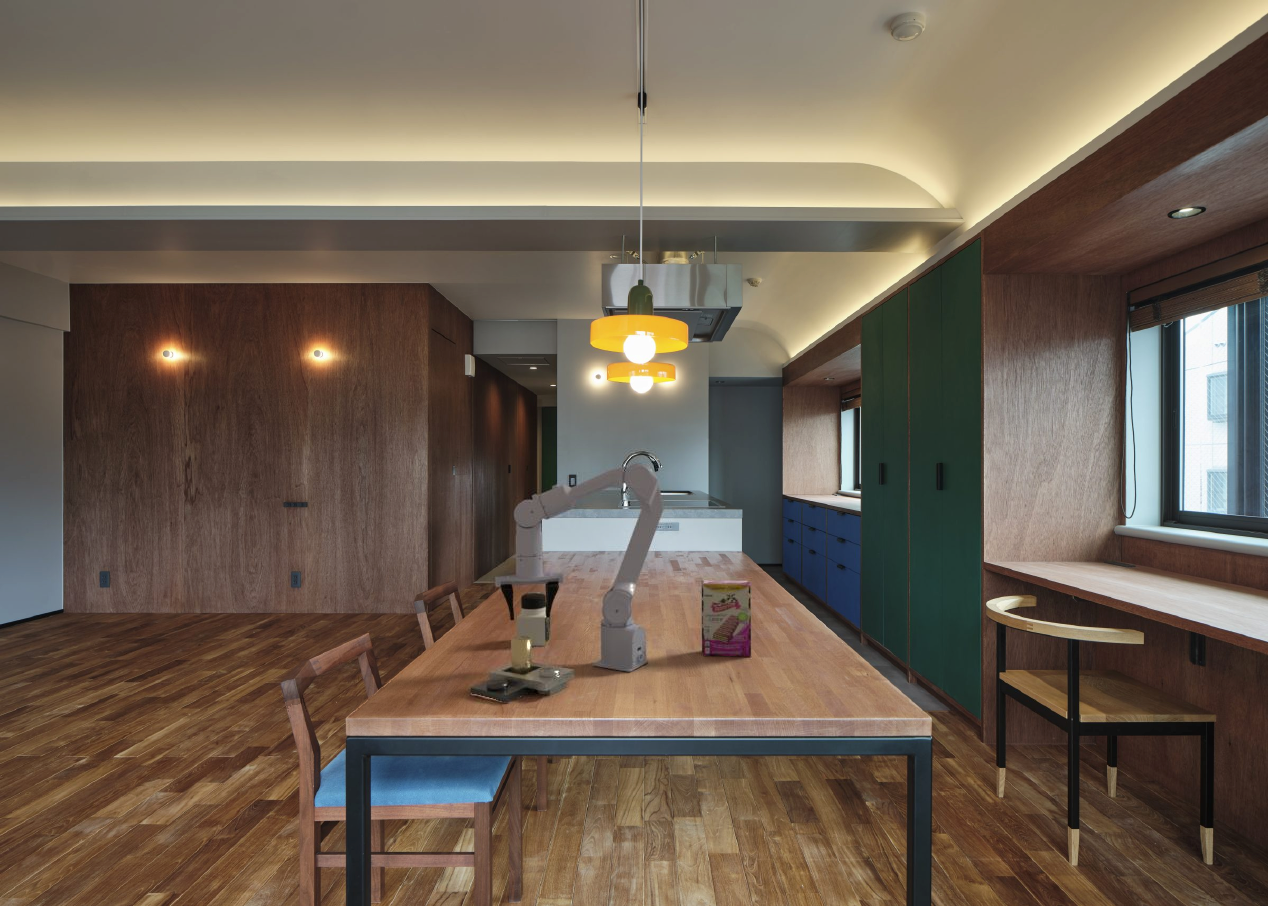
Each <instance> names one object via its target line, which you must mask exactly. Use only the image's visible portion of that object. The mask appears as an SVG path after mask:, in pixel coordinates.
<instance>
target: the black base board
mask: <svg viewBox="0 0 1268 906" xmlns="http://www.w3.org/2000/svg"><path fill="white" fill-rule="evenodd" d="M534 691H536V690H535V689H532V688H527V687H522V686H517V685H512V684H508V681H507V680H489V679H488V680H485V681H483V682H480V683H479V684H478V683H477V684H476V685H473V686H471V687H470V694H471V693H472V694H477V695H481V696H485V697H489V698H493V699H496V700H498V701H502V702H506V703H505V704H509V703H511V702H513V701H514V700H513V699H515V700H517V699H519V698H518V697H520V696H522V697H524V696H525V694H526V695H528V694H530V693H533V692H534ZM527 693H528V694H527ZM523 695H524V696H523ZM516 698H517V699H516ZM520 698H521V697H520ZM512 700H513V701H512ZM498 701H497V702H498ZM510 701H511V702H510ZM502 702H501V703H502ZM508 702H509V703H508Z"/></svg>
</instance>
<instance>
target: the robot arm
mask: <svg viewBox="0 0 1268 906" xmlns="http://www.w3.org/2000/svg"><path fill="white" fill-rule="evenodd" d="M624 484H625V486H626V487H627V488H628V489H629V491H631V493H633V494H634V496H635V498H636V501H637V502H638V504H639V506H640V512H639V515H638V517H637V520H636V523H635V526H634V528H633V530H632V534H631V537H630V540H629V542H628V544H627V548H626V550H625V553H624V556H623V558H622V561H621V563H620V566H619V568H618V572H617V574H616V577H615V578H614V580H613V584H612V586H611V588H610V589H609V590H608V591H607V592H606V593H605V594H604V596H603V597H602V607H601V614H602V617H603V618H602V619H601V620H600V659H599V660H597V661H596V662H594V663H592V666H593V667H599V668H605V669H608V670H609V669H611V670H616V671H617V670H618V671H621V672H628V673H630V672H632V671H634V670H637V669H638V668H640V667H641V666H643V665H646V664H647V663H648V662H649V660H648V659H647V635H646V634H647V633H646V631H645V628H644V627H643V626H641V625H637V624H636V623H635V622H634V621H635V620H634V618H633V617H632V613H633V612H632V611H633V609H632V600H633V597H634V594H635V590H636V587H637V583H638V580H639V577H640V575H641V572H642V570H643V568H644V564H645V561H646V558H647V556H648V554H649V550H650V548H651V545H652V543H653V539H654V537H655V534H656V531H657V529H658V526H659V524H660V520H661V517H662V515H663V512H664V508H665V507H664V500H663V498H662V493H661V489H660V485H659V479H658V477H657V476H656V474H655V472H654V471H653V470H652V468H651V467H650V466H649V465H648V464H646V463H643V462H635V463H632V464H629V466H628V467H627V466H622V467H617V468H613V469H610V470H607V471H605V472H603V473H601V474H599V475H597V476H594V477H592V478H590V479H588V480H585V481H583V482H581V483H579V484H576V485H575V486H572V487H570V486H568V485H565V484H561V485H559V484H555V485H552V486H551V489H550V490H547V491H545V492H542V493H540V494H536V493H535V494H532V496H531V497H532V499H524V500H523V501H521V502H519V503H518V504H517V505H516V507H515V509H514V511H513V518H514V521H515V522H516V524H515V525H516V526H515V531H516V534H515V570H516V571H515V573H516V574H512V575H501V576H495V581H494V582H495V584H494V585H495V587H496V588H500V590H501V593H502V595H503V596H504V599H505V602H506V604H507V608H508V612H509V619H510V621H514V620H515V613H514V612H515V611H514V589H513V588H514V587H513V586H524V585H543V584H544V585H545V586H544V587H545V596H546V617H547V618H550V619H551V611H552V607H553V603H554V601H555V598H556V595H557V593H558V591H559V589H560V584H564V573H563V572H557V573H555V572H554V573H553V572H552V573H550V572H548V573H544V569H543V567H544V565H543V561H544V560H543V558H544V556H543V553H544V552H543V533H542V520H547V521H548V520H551V519H552V518H554V517H558V516H559V515H561V514H563V513H566V512H568V511H571V510H573V509H574V508H575V505H576V503H577V501H578V500H581V499H584V498H585V497H586V498H587V497H589V496H591V495H593V494H596V493H599V492H601V491H604V490H606V489H610V488H612V489H613V488H615V489H624Z"/></svg>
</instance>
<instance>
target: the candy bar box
mask: <svg viewBox="0 0 1268 906" xmlns="http://www.w3.org/2000/svg"><path fill="white" fill-rule="evenodd" d="M751 594H752V593H751V583H750V581H749V580H721V579H717V580H716V579H715V580H713V579H712V580H711V579H703V580H701V653H702V655H701V656H703V657H706V656H707V657H747V658H748V657H752V618H751V617H752V616H751V615H752V613H751V608H752V607H751V597H752V595H751Z"/></svg>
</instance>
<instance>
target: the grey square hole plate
mask: <svg viewBox="0 0 1268 906" xmlns="http://www.w3.org/2000/svg"><path fill="white" fill-rule="evenodd" d="M573 678H575V669H571V668H567V667H561V666H556V665H549V664H544V663H539V662H538V663H537V662H533V661H532V672H530V673H527V674H525V675H520V674H515V673H512V672H511V663H509V664H506V665H503V666H501V667H498V668H496V669H493V670H491V671H488V680H507V681H508V684H512V685H517V686H522V687H527V688H532V689H536V691H537V694H540V693H541V695H545V694H546V695H545V696H552V695H554V694H556V693H558V692H560V691H562V690H565V689H566V688H567V681H569V680H572V679H573Z"/></svg>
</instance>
